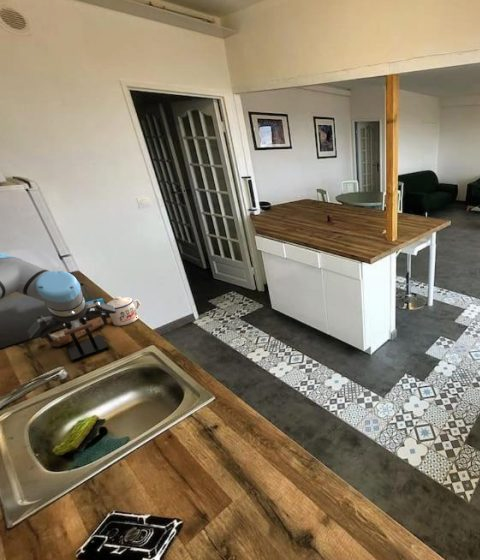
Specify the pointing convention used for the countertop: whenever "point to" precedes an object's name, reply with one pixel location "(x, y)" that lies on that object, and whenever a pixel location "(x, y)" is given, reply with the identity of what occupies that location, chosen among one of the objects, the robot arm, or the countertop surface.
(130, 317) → the teacup with lid
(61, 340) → the bread
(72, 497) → the countertop surface
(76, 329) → the slicer arm
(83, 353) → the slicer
